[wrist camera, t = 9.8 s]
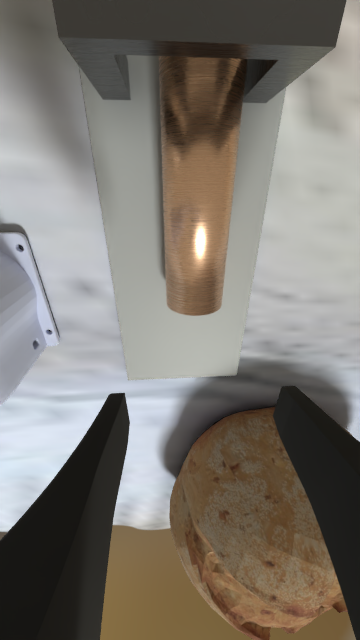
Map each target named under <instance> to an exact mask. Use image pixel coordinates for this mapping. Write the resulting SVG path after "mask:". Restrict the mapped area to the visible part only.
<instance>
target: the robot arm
mask: <svg viewBox="0 0 360 640" xmlns="http://www.w3.org/2000/svg"><path fill="white" fill-rule="evenodd" d="M19 244H20V245H22V246H23V248H24V251H23V250H21V249H20V248H19ZM48 330H51V331H52V332H50V331H48ZM59 342H60V338H59V335H58V332H57V329H56V326H55V323H54V320H53V317H52V314H51V311H50V308H49V305H48V302H47V299H46V295H45V292H44V289H43V286H42V283H41V280H40V277H39V274H38V271H37V268H36V265H35V262H34V259H33V256H32V253H31V249H30V246H29V243H28V240H27V238H26V236H25V235H24V234H22V233H19V232H0V405H2V404H3V403H4V402H5V401H6V400H7V399H8V398H9V397H10V396H11V395H12V393H13V392H14V391H15V389H16V388H17V387H18V385H19V384H20V382H21V381H22V380H23V378H24V377H25V376H26V374H27V373H28V371H29V370H30V369H31V367H32V366H33V365H34V363H35V362H36V361H37V359H38V358H39V356H40V355H41V354H42V352H43V351H44V350H45V348H46V347H47V346H56V345H58V343H59ZM273 418H274V421H275V424H276V427H277V430H278V433H279V436H280V439H281V441H282V443H283V445H284V447H285V449H286V452H287V454H288V456H289V458H290V460H291V462H292V464H293V467H294V469H295V471H296V473H297V475H298V477H299V479H300V481H301V484H302V486H303V488H304V490H305V492H306V494H307V497H308V499H309V501H310V504H311V506H312V509H313V511H314V514H315V517H316V519H317V522H318V525H319V527H320V530H321V533H322V536H323V538H324V541H325V544H326V547H327V550H328V553H329V555H330V558H331V561H332V564H333V567H334V570H335V573H336V576H337V579H338V582H339V585H340V588H341V591H342V594H343V598H344V601H345V604H346V607H347V611H348V614H349V617H350V620H351V624H352V627H353V630H354V634H355V637H356V640H360V442H359V441H358V440H356V439H355V438H354V437H353V436H352V435H350V434H349V433H348V432H347V431H346V430H344V429H343V428H342V427H341V426H340V425H338V424H337V423H336V422H335V421H334V420H333V419H331V418H330V417H329V416H328V415H327V414H326V413H325V412H324V411H322V410H321V409H320V408H319V407H318V406H317V405H316V404H315V403H313V402H312V401H311V400H310V399H309V398H308V397H307V396H306V395H305V394H303V393H302V392H301V391H300V390H299V389H298V388H297V387H295V386H283V387H282V388H281V391H280V394H279V397H278V400H277V404H276V407H275V410H274V413H273ZM129 424H130V421H129V415H128V410H127V404H126V398H125V393H113V394H110V395H109V396H108V398H107V400H106V401H105V403H104V405H103V407H102V409H101V410H100V412H99V414H98V415H97V417H96V419H95V420H94V422H93V423H92V425H91V427H90V428H89V430H88V431H87V433H86V434H85V436H84V437H83V439H82V440H81V442H80V443H79V445H78V446H77V448H76V449H75V450H74V452H73V453H72V455H71V456H70V457H69V459H68V460H67V462H66V463H65V464H64V466H63V467H62V468H61V470H60V471H59V472H58V474H57V475H56V476H55V478H54V479H53V480H52V481H51V483H50V484H49V485H48V486H47V488H46V489H45V490H44V491H43V492H42V494H41V495H40V496H39V497H38V498H37V500H36V501H35V502H34V503H33V504H32V505H31V507H30V508H29V509H28V510H27V511H26V512H25V514H24V515H23V516H22V517H21V518H20V519H19V520H18V522H17V523H16V524H15V525H14V526H13V527H12V528H11V529H10V530H9V532H8V533H7V534H6V535H5V536H4V537H3V538H2V539H1V540H0V640H100V632H101V622H102V612H103V603H104V593H105V583H106V574H107V565H108V557H109V548H110V540H111V532H112V524H113V517H114V511H115V505H116V500H117V495H118V490H119V485H120V480H121V475H122V470H123V465H124V460H125V455H126V450H127V444H128V435H129Z"/></svg>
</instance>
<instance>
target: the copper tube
mask: <svg viewBox="0 0 360 640" xmlns="http://www.w3.org/2000/svg"><path fill="white" fill-rule="evenodd" d="M246 69H247V59H234V58H203V57H171V56H159V85H160V116H161V147H162V178H163V209H164V241H165V272H166V303H167V306H168V307H169V309H171V310H172V311H174V312H176V313H179V314H183V315H190V316H201V315H208V314H211V313H214V312H216V311H218V310H219V309H220V308H221V306H222V297H223V287H224V278H225V268H226V259H227V249H228V240H229V230H230V221H231V211H232V202H233V192H234V183H235V173H236V164H237V154H238V145H239V135H240V126H241V116H242V107H243V97H244V88H245V78H246Z"/></svg>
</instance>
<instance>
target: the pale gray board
mask: <svg viewBox="0 0 360 640" xmlns="http://www.w3.org/2000/svg"><path fill="white" fill-rule="evenodd" d="M126 56H127V60H128V69H129V82H130V94H131V100H103V99H102V98H101V96H100V95H99V93H98V92H97V91H96V89H95V88H94V86H93V85H92V84H91V82H90V81H89V79H88V78H87V76H86V75H85V74H84V72H83V71H82V69H81V68H80V67H79V71H80V77H81V83H82V90H83V96H84V103H85V109H86V115H87V122H88V128H89V134H90V141H91V147H92V153H93V160H94V166H95V172H96V179H97V185H98V192H99V198H100V204H101V211H102V217H103V223H104V230H105V236H106V242H107V249H108V255H109V262H110V268H111V274H112V281H113V287H114V293H115V300H116V306H117V312H118V319H119V325H120V331H121V338H122V344H123V351H124V357H125V363H126V370H127V376H128V380H144V379H167V378H190V377H213V376H235V375H237V370H238V364H239V358H240V352H241V346H242V340H243V335H244V329H245V323H246V317H247V311H248V306H249V300H250V294H251V288H252V282H253V277H254V271H255V265H256V259H257V253H258V248H259V242H260V236H261V230H262V224H263V219H264V213H265V207H266V201H267V195H268V190H269V184H270V178H271V172H272V166H273V161H274V155H275V149H276V143H277V137H278V132H279V126H280V120H281V114H282V108H283V103H284V97H285V91H286V87H285V88H284V89H283V90H282V91H280V92H279V93H278V94H277V95H276V96H274V97H273V98H272V99H271V100H269V101H268V102H267V103H243V107H242V116H241V126H240V135H239V145H238V154H237V164H236V173H235V183H234V192H233V202H232V211H231V221H230V230H229V240H228V249H227V259H226V268H225V278H224V287H223V297H222V306H221V308H220V309H219V310H218V311H216V312H214V313H211V314H208V315H201V316H190V315H183V314H179V313H176V312H174V311H172V310H171V309H169V307H168V306H167V303H166V272H165V241H164V209H163V178H162V147H161V116H160V85H159V56H140V55H126Z"/></svg>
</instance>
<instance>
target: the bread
mask: <svg viewBox="0 0 360 640" xmlns="http://www.w3.org/2000/svg"><path fill="white" fill-rule="evenodd" d="M275 407H276V406H275ZM275 407H269V408H264V409H254V410H247V411H243V412H238V413H235V414H232V415H229V416H227V417H224V418H223V419H221V420H220V421H218V422H217V423H215V424H214V425H213V426H211V427H210V428H209V429H207V430H206V431H205V432H204V433H203V434H202V435H201V436H200V437H199V438H198V439H197V440H196V442H195V443H194V444H193V445H192V447H191V449H190V451H189V453H188V455H187V457H186V459H185V461H184V463H183V465H182V467H181V471H180V473H179V475H178V477H177V479H176V481H175V484H174V486H173V490H172V494H171V499H170V526H171V532H172V536H173V539H174V543H175V546H176V549H177V551H178V554H179V557H180V559H181V562H182V564H183V567H184V569H185V571H186V573H187V575H188V577H189V579H190V581H191V582H192V583H193V585H194V586H195V588H196V589H197V590H198V592H199V593H200V594H201V596H202V597H203V598H204V599H205V600H206V602H207V603H208V604H209V605H210V606H211V608H212V609H213V610H215V611H216V612H217V613H218V614H219V615H220V616H222V617H223V618H224V619H225V620H226V621H227V622H228V623H230V624H231V625H232V626H233V627H234V628H235V629H237V630H239V631H240V632H242V633H244V634H246V635H247V636H249V637H250V638H252V639H253V640H269V638H270V632H269V631H270V629H271V627H281V628H282V629H283V630H284V631H286V632H287V633H295V632H297V631H298V630H299V629H300V628H302V627H303V626H306V625H308V624H309V623H310V622H311V621H312V620H313V619H314V618H316V617H318V616H319V615H321V614H323V613H324V612H326V611H328V610H330V609H331V608H332V607H334V608H335V609H336V610H337V611H338V612H339V613H340V612H343V611H345V612H348V611H347V607H346V604H345V601H344V598H343V594H342V591H341V588H340V585H339V582H338V579H337V576H336V573H335V570H334V567H333V564H332V561H331V558H330V555H329V553H328V550H327V547H326V544H325V541H324V538H323V536H322V533H321V530H320V527H319V525H318V522H317V519H316V517H315V514H314V511H313V509H312V506H311V504H310V501H309V499H308V497H307V494H306V492H305V490H304V488H303V486H302V484H301V481H300V479H299V477H298V475H297V473H296V471H295V469H294V467H293V464H292V462H291V460H290V458H289V456H288V454H287V452H286V449H285V447H284V445H283V443H282V441H281V439H280V436H279V433H278V430H277V427H276V424H275V421H274V418H273V413H274V410H275ZM338 425H339V424H338ZM342 428H343V427H342ZM343 429H344V428H343ZM344 430H345V429H344ZM346 431H347V430H346ZM347 432H348V431H347ZM348 433H349V432H348ZM349 434H350V433H349ZM350 435H351V434H350Z"/></svg>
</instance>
